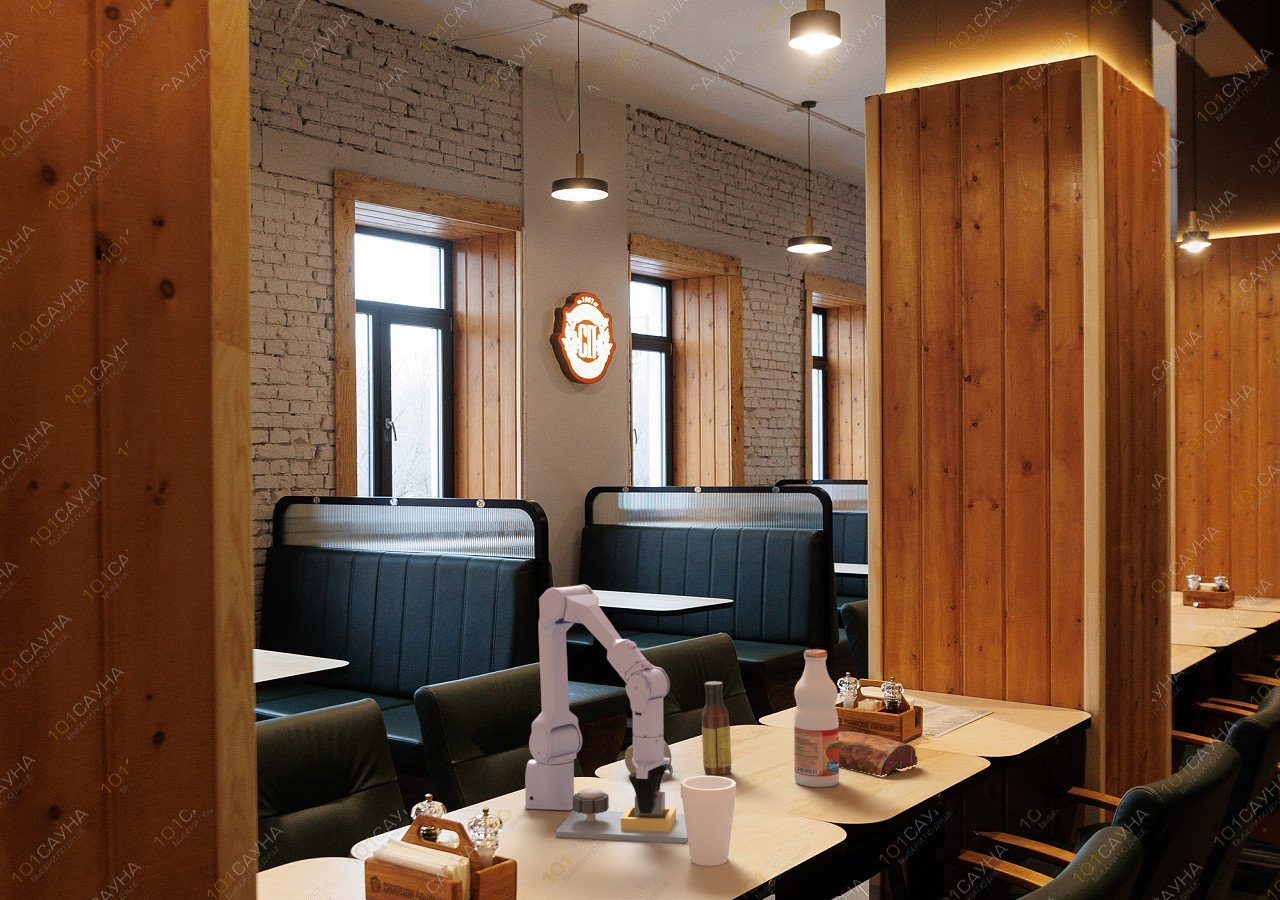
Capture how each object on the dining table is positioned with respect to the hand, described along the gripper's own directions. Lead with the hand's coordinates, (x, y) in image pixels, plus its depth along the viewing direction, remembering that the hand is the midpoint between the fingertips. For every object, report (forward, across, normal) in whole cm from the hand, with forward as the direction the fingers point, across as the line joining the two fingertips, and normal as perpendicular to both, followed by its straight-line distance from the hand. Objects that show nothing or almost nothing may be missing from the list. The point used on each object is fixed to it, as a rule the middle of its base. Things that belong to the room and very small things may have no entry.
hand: (648, 808), depth 214 cm
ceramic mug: (+4, +39, +6) cm, 40 cm away
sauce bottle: (+4, +43, -8) cm, 44 cm away
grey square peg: (+3, 0, 0) cm, 3 cm away
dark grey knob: (+1, 0, +11) cm, 11 cm away
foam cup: (+4, -15, -13) cm, 20 cm away
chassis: (+4, 0, +4) cm, 6 cm away
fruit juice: (+4, +38, -30) cm, 49 cm away
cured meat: (+5, +59, -39) cm, 71 cm away
